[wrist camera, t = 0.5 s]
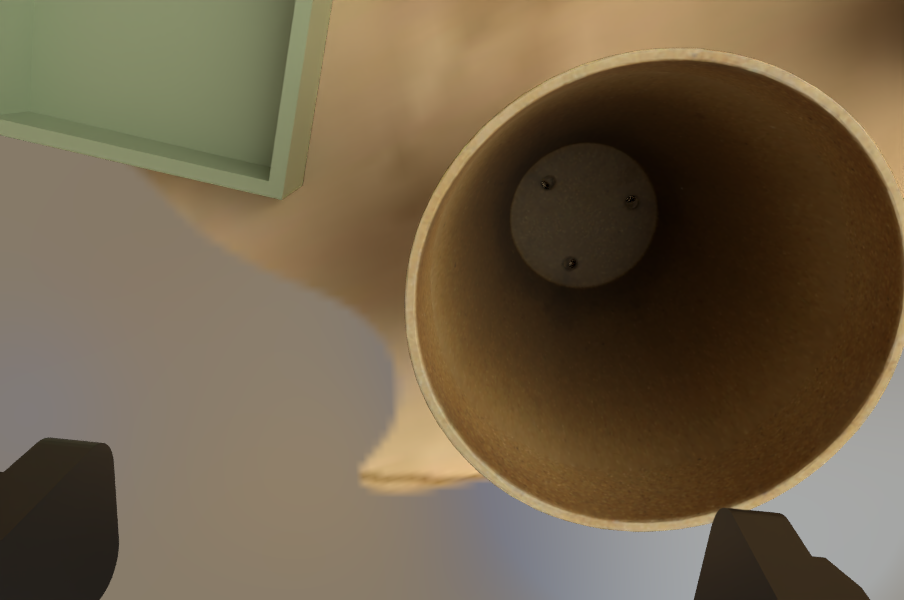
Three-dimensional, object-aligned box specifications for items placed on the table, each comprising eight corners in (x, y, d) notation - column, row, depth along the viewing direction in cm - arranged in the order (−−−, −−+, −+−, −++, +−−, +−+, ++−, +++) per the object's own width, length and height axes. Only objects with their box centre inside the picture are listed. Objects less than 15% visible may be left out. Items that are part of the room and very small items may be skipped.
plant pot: (753, 315, 38) (934, 483, 23) (473, 374, 40) (469, 569, 25) (713, 16, 34) (905, -20, 19) (401, 97, 35) (342, 125, 20)
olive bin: (37, -201, 32) (-22, -236, 28) (352, -123, 33) (335, -147, 29) (24, 121, 36) (-30, 128, 33) (302, 185, 37) (281, 200, 33)
